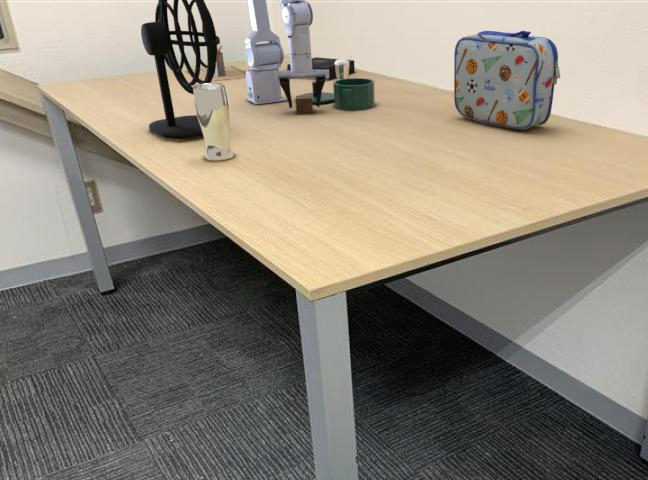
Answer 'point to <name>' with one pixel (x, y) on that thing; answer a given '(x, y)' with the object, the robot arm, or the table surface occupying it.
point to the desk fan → (162, 49)
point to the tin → (354, 93)
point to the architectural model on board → (221, 70)
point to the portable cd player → (327, 66)
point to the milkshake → (342, 69)
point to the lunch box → (505, 78)
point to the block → (304, 104)
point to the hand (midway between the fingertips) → (304, 106)
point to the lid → (324, 96)
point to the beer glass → (213, 119)
